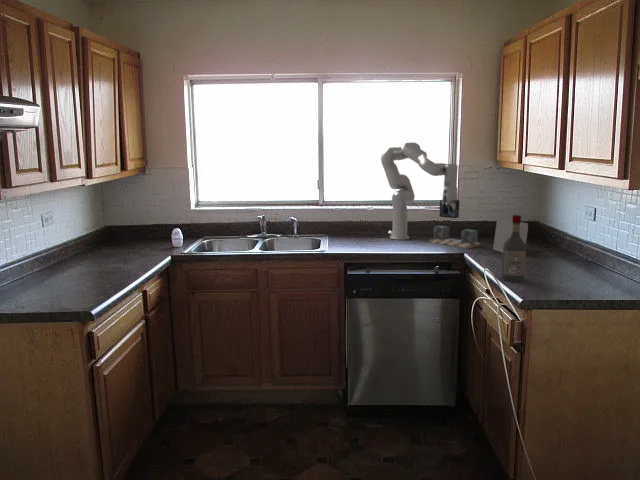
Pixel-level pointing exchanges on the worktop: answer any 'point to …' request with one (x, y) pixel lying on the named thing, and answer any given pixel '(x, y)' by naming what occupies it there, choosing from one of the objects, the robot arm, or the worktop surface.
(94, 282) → the worktop surface
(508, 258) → the liquor
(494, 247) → the electrical switch box
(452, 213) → the small box
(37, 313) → the worktop surface
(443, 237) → the rail board
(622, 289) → the worktop surface
